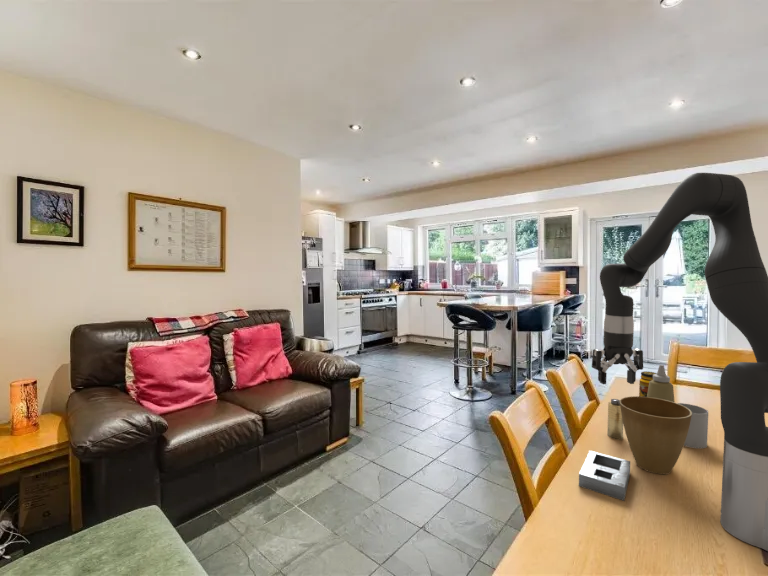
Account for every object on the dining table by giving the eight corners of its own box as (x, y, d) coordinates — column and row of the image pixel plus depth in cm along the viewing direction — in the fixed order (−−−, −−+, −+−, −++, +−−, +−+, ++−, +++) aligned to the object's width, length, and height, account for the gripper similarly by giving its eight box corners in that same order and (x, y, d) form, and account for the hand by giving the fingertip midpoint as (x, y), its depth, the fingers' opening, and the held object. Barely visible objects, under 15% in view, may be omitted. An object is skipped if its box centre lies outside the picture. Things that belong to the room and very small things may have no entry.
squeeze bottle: (646, 410, 132) (648, 361, 131) (675, 416, 127) (677, 364, 126) (644, 417, 125) (646, 365, 124) (674, 424, 120) (676, 369, 119)
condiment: (640, 406, 136) (641, 374, 135) (633, 398, 144) (634, 368, 143) (664, 409, 133) (665, 376, 133) (656, 401, 141) (657, 370, 141)
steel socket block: (624, 500, 81) (624, 487, 81) (578, 486, 87) (579, 473, 86) (630, 472, 92) (630, 461, 92) (589, 461, 98) (589, 450, 97)
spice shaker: (626, 438, 110) (627, 402, 110) (615, 440, 109) (616, 403, 109) (614, 432, 114) (615, 397, 114) (604, 434, 113) (605, 398, 113)
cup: (714, 449, 103) (715, 415, 103) (680, 447, 105) (681, 412, 104) (695, 436, 112) (696, 404, 111) (664, 434, 113) (665, 402, 113)
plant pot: (642, 448, 104) (644, 392, 104) (703, 475, 91) (706, 412, 90) (604, 458, 99) (606, 400, 98) (663, 488, 85) (666, 421, 84)
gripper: (602, 332, 106) (601, 388, 107) (651, 332, 106) (649, 387, 107) (587, 328, 114) (586, 379, 115) (632, 327, 114) (631, 379, 115)
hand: (616, 383), depth 111 cm, fingers open, 8 cm apart
